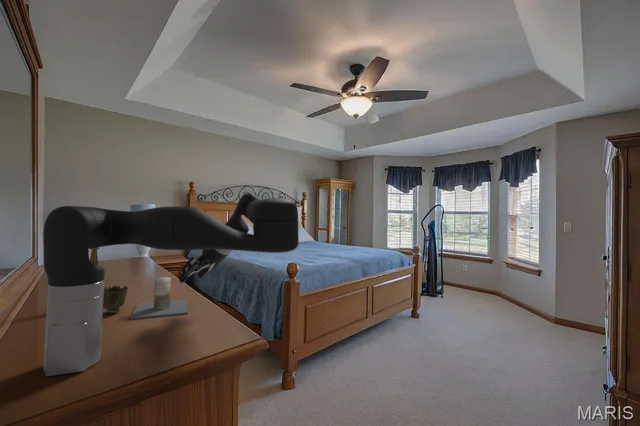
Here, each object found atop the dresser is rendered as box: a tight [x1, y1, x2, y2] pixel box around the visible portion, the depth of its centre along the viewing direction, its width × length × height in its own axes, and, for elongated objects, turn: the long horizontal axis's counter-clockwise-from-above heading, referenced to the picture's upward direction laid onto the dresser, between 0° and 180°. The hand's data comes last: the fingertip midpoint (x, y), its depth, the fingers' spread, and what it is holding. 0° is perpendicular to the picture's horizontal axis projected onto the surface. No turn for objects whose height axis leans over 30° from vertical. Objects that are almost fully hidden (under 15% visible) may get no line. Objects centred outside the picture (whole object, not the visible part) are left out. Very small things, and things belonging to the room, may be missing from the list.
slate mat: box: [129, 299, 189, 321], centre depth 100 cm, size 16×16×1 cm
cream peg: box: [153, 276, 172, 310], centre depth 99 cm, size 5×5×10 cm
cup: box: [103, 285, 128, 315], centre depth 95 cm, size 8×7×8 cm
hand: (190, 278), depth 97 cm, fingers open, 8 cm apart
